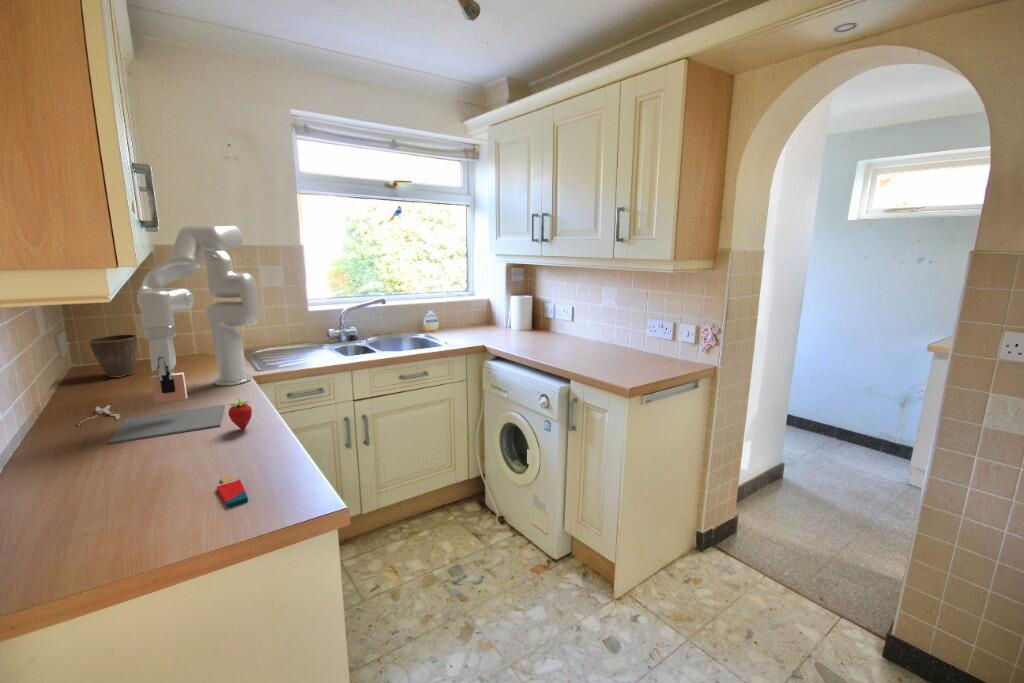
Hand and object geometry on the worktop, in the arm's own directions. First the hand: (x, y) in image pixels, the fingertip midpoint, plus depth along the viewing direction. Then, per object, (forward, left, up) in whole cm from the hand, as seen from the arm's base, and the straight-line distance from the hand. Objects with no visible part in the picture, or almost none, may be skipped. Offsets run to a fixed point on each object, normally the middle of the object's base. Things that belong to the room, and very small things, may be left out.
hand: (169, 390), depth 142 cm
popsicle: (+58, +18, -10) cm, 62 cm away
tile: (0, 0, -3) cm, 3 cm away
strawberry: (+20, +19, -9) cm, 29 cm away
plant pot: (-70, -28, -9) cm, 76 cm away
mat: (+4, 0, -9) cm, 10 cm away
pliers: (-15, -21, -10) cm, 27 cm away
